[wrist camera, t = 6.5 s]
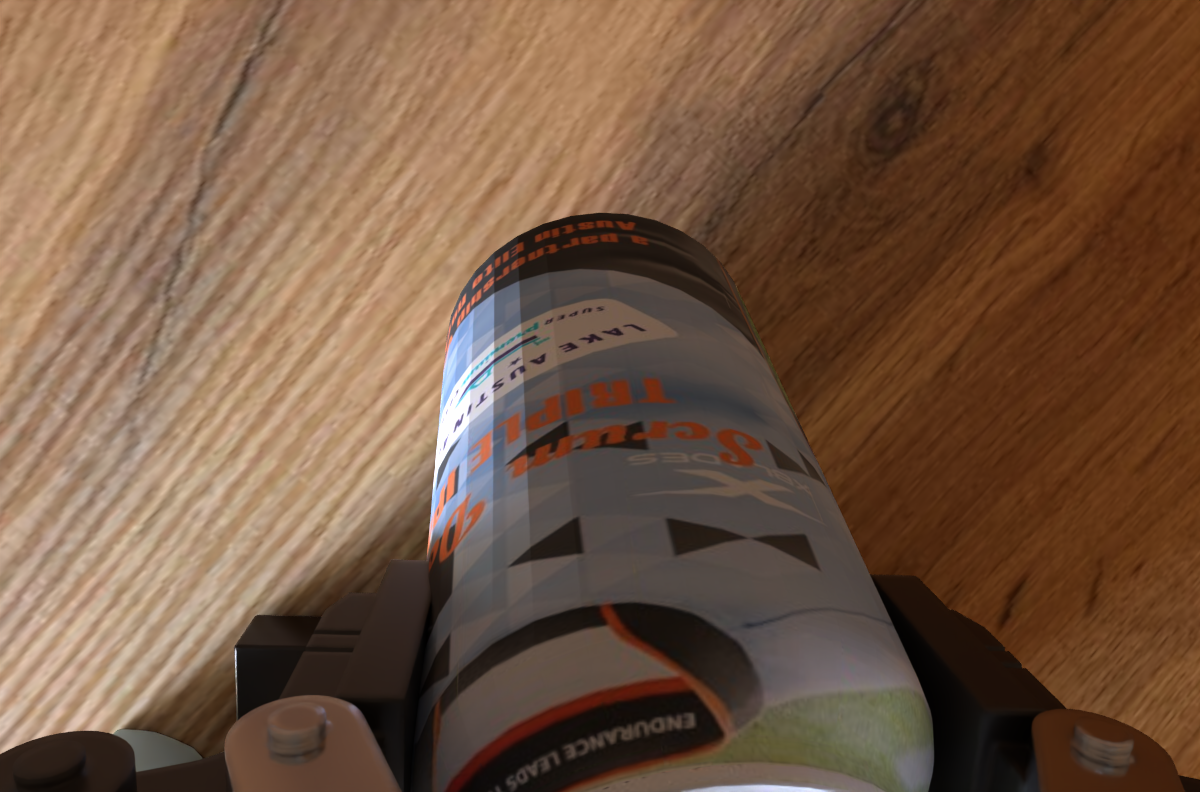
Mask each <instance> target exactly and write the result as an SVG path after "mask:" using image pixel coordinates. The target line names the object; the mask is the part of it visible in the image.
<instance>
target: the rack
mask: <svg viewBox="0 0 1200 792" xmlns="http://www.w3.org/2000/svg"><path fill="white" fill-rule="evenodd" d="M320 619H321V617H317V616H276V615H257V616H255V617H254V619H253V620H252V622H251V623H250V624H249V626H248V627H247V629H246V630H245V632H244V633H243V635H242V636H241V638H240V639H239V640H238V642H237V643H236V645H235V647H234V653H235V682H236V712H237V721H238V720H239V719H240V718H241V717H242V716H244V715H245V714H247V713H249V712H250V711H252V710H254V709H256V708H258V707H260V706H262V705H264V704H267V703H270V702H273V701H276V700H279V698H280V696H281V694H282V692H283V690H284V688H285V686H286V684H287V682H288V681H289V679H290V677H291V675H292V673H293V671H294V669H295V667H296V665H297V663H298V661H299V659H300V657H301V656H302V654H303V652H304V651H306V646H307V644H308V642H309V640H310V638H311V636H312V634H314V633H315V629H316V627H317V625H318V623H319V621H320Z"/></svg>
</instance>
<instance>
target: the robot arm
mask: <svg viewBox="0 0 1200 792" xmlns="http://www.w3.org/2000/svg"><path fill="white" fill-rule="evenodd" d="M870 576H871V578H872V580H873V583H874V585H875V587H876V589H877V591H878V593H879V595H880V598H881V600H882V602H883V604H884V606H885V608H886V611H887V613H888V615H889V617H890V619H891V621H892V623H893V626H894V628H895V630H896V632H897V634H898V636H899V639H900V641H901V643H902V645H903V647H904V649H905V652H906V654H907V656H908V658H909V660H910V662H911V664H912V667H913V669H914V671H915V673H916V675H917V677H918V680H919V682H920V685H921V687H922V690H923V693H924V695H925V698H926V700H927V703H928V706H929V708H930V711H931V716H932V723H933V739H934V765H933V773H932V778H931V782H930V786H929V791H928V792H1200V780H1199V779H1194V778H1189V777H1184V776H1180V775H1178V772H1177V770H1176V767H1175V764H1174V762H1173V760H1172V758H1171V757H1170V755H1169V754H1168V753H1167V752H1166V750H1165V749H1164V748H1162V747H1161V746H1160V745H1159V744H1158V743H1157V742H1155V741H1154V740H1153V739H1151V738H1150V737H1149V736H1147V735H1145V734H1144V733H1142V732H1140V731H1139V730H1137V729H1135V728H1133V727H1131V726H1129V725H1127V724H1125V723H1122V722H1120V721H1118V720H1115V719H1112V718H1109V717H1106V716H1103V715H1100V714H1096V713H1092V712H1087V711H1082V710H1074V709H1067V708H1066V707H1065V706H1064V705H1063V704H1062V703H1061V702H1060V701H1059V700H1058V699H1057V698H1056V697H1055V696H1054V695H1052V694H1051V693H1050V692H1049V691H1048V690H1047V689H1046V688H1045V687H1044V686H1043V685H1042V684H1041V683H1040V682H1039V681H1038V680H1037V679H1036V678H1035V677H1034V676H1033V675H1032V674H1031V673H1030V672H1029V671H1028V670H1027V669H1026V668H1022V664H1021V663H1020V662H1019V661H1018V660H1017V659H1016V658H1015V657H1014V656H1013V655H1012V654H1011V653H1010V652H1009V651H1005V647H1004V646H1003V645H1002V644H1001V643H1000V642H999V641H998V640H997V639H996V638H995V637H994V636H993V635H992V634H991V633H990V632H989V631H988V630H987V629H986V628H985V627H983V626H981V625H979V624H978V623H976V622H974V621H972V620H971V619H969V618H967V617H965V616H963V615H962V614H960V613H958V612H956V611H955V610H949V609H948V608H947V607H946V606H945V605H944V604H943V603H942V602H941V601H940V600H939V599H938V598H937V597H936V596H935V594H934V593H933V592H932V591H931V590H930V589H929V588H928V587H927V586H926V585H925V584H924V583H923V582H922V581H921V580H920V579H919V578H918V577H916V576H905V575H872V574H870ZM431 601H432V594H431V588H430V582H429V561H427V560H393V559H392V560H391V561H390V563H389V565H388V567H387V570H386V572H385V575H384V577H383V579H382V582H381V584H380V587H379V589H378V592H377V593H349V594H347V595H346V596H344V597H343V598H341V599H340V600H339V601H337V602H336V603H334V604H333V605H331V606H330V607H328V608H327V609H326V610H325V611H324V613H323V615H322V617H321V619H320V621H319V623H318V625H317V627H316V629H315V633H314V634H312V636H311V638H310V640H309V642H308V644H307V646H306V651H304V652H303V654H302V656H301V657H300V659H299V661H298V663H297V665H296V667H295V669H294V671H293V673H292V675H291V677H290V679H289V681H288V682H287V684H286V686H285V688H284V690H283V692H282V694H281V696H280V698H279V700H276V701H273V702H270V703H267V704H264V705H262V706H260V707H258V708H256V709H254V710H252V711H250V712H249V713H247V714H245V715H244V716H242V717H241V718H240V719H239V720H238V721H236V722H235V724H234V725H233V726H232V727H231V728H230V730H229V731H228V733H227V735H226V738H225V742H224V752H221V753H219V754H216V755H214V756H210V757H207V758H204V759H200V760H196V761H192V762H187V763H182V764H177V765H171V766H166V767H160V768H155V769H150V770H144V771H139V772H136V766H135V754H134V750H133V748H132V746H131V745H130V744H129V743H128V742H127V741H126V740H124V739H122V738H121V737H119V736H116V735H113V734H110V733H105V732H99V731H73V732H66V733H59V734H54V735H50V736H45V737H42V738H39V739H35V740H32V741H29V742H26V743H24V744H21V745H19V746H16V747H14V748H12V749H10V750H8V751H6V752H4V753H2V754H0V792H410V782H411V763H412V752H413V743H414V735H415V726H416V717H417V709H418V700H419V691H420V684H421V676H422V669H423V661H424V654H425V646H426V639H427V631H428V624H429V616H430V608H431Z"/></svg>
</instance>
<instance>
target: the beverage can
mask: <svg viewBox="0 0 1200 792" xmlns="http://www.w3.org/2000/svg"><path fill="white" fill-rule="evenodd" d="M427 561H429V582H430V588H431V594H432V601H431V608H430V616H429V624H428V631H427V639H426V646H425V654H424V661H423V669H422V676H421V684H420V691H419V700H418V709H417V717H416V726H415V735H414V743H413V752H412V763H411V782H410V792H928V791H929V786H930V782H931V778H932V773H933V765H934V739H933V723H932V716H931V711H930V708H929V706H928V703H927V700H926V698H925V695H924V693H923V690H922V687H921V685H920V682H919V680H918V677H917V675H916V673H915V671H914V669H913V667H912V664H911V662H910V660H909V658H908V656H907V654H906V652H905V649H904V647H903V645H902V643H901V641H900V639H899V636H898V634H897V632H896V630H895V628H894V626H893V623H892V621H891V619H890V617H889V615H888V613H887V611H886V608H885V606H884V604H883V602H882V600H881V598H880V595H879V593H878V591H877V589H876V587H875V585H874V583H873V580H872V578H871V576H870V574H869V572H868V570H867V567H866V565H865V563H864V561H863V559H862V557H861V554H860V552H859V550H858V548H857V546H856V544H855V542H854V539H853V537H852V535H851V533H850V531H849V529H848V526H847V524H846V522H845V520H844V518H843V516H842V514H841V511H840V509H839V507H838V505H837V503H836V501H835V498H834V496H833V494H832V492H831V490H830V488H829V485H828V483H827V481H826V479H825V477H824V475H823V473H822V470H821V468H820V466H819V464H818V462H817V460H816V457H815V455H814V453H813V451H812V449H811V447H810V445H809V442H808V440H807V438H806V436H805V434H804V432H803V429H802V427H801V425H800V423H799V421H798V419H797V416H796V414H795V412H794V410H793V408H792V406H791V404H790V401H789V399H788V397H787V395H786V393H785V391H784V388H783V386H782V384H781V382H780V380H779V378H778V375H777V373H776V371H775V369H774V367H773V365H772V363H771V360H770V358H769V356H768V354H767V352H766V350H765V347H764V345H763V343H762V341H761V339H760V337H759V335H758V332H757V330H756V328H755V326H754V324H753V322H752V319H751V317H750V315H749V313H748V311H747V309H746V306H745V304H744V302H743V300H742V298H741V296H740V294H739V291H738V289H737V287H736V285H735V283H734V281H733V280H732V278H731V277H730V275H729V274H728V272H727V271H726V269H725V268H724V267H723V265H722V264H721V262H720V261H719V260H718V259H717V258H716V257H715V256H713V255H712V254H711V253H710V252H709V251H708V250H707V249H706V248H705V247H704V246H703V245H702V244H700V243H699V242H697V241H696V240H694V239H693V238H691V237H690V236H688V235H687V234H685V233H683V232H682V231H680V230H678V229H675V228H673V227H670V226H668V225H666V224H663V223H661V222H658V221H656V220H652V219H647V218H643V217H638V216H634V215H629V214H612V213H594V214H585V215H576V216H570V217H566V218H563V219H559V220H556V221H552V222H549V223H545V224H542V225H540V226H538V227H536V228H534V229H532V230H529V231H527V232H525V233H523V234H521V235H519V236H517V237H516V238H514V239H513V240H511V241H510V242H508V243H507V244H506V245H504V246H503V247H501V248H500V249H498V250H497V251H496V252H494V253H493V254H492V255H491V256H490V257H489V258H488V259H487V260H486V261H485V262H484V263H483V264H482V265H481V266H480V267H479V268H478V269H477V270H476V271H475V273H474V274H473V276H472V277H471V279H470V280H469V282H468V283H467V285H466V286H465V287H464V289H463V290H462V292H461V294H460V296H459V299H458V301H457V303H456V306H455V308H454V310H453V313H452V315H451V320H450V325H449V329H448V334H447V340H446V352H445V363H444V374H443V385H442V396H441V407H440V418H439V429H438V441H437V452H436V463H435V474H434V485H433V496H432V507H431V519H430V530H429V541H428V552H427Z"/></svg>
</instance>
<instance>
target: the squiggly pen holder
mask: <svg viewBox="0 0 1200 792" xmlns="http://www.w3.org/2000/svg"><path fill="white" fill-rule="evenodd" d="M113 735H116V736H119V737H121V738H122V739H124V740H126V741H127V742H128V743H129V744H130V745H131V746H132V748H133V750H134V754H135V766H136V772H139V771H144V770H150V769H155V768H160V767H166V766H171V765H177V764H182V763H187V762H192V761H196V760H200V759H203V758H202V757H201V756H200V755H199V754H198V753H197V752H196V750H195V749H194V748H192V747H190V746H188V745H186V744H184V743H182V742H179V741H177V740H175V739H173V738H170V737H167V736H164V735H161V734H159V733H156V732H150V731H142V730H129V729H120V730H117V731H116V732H115V733H114V734H113Z"/></svg>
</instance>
